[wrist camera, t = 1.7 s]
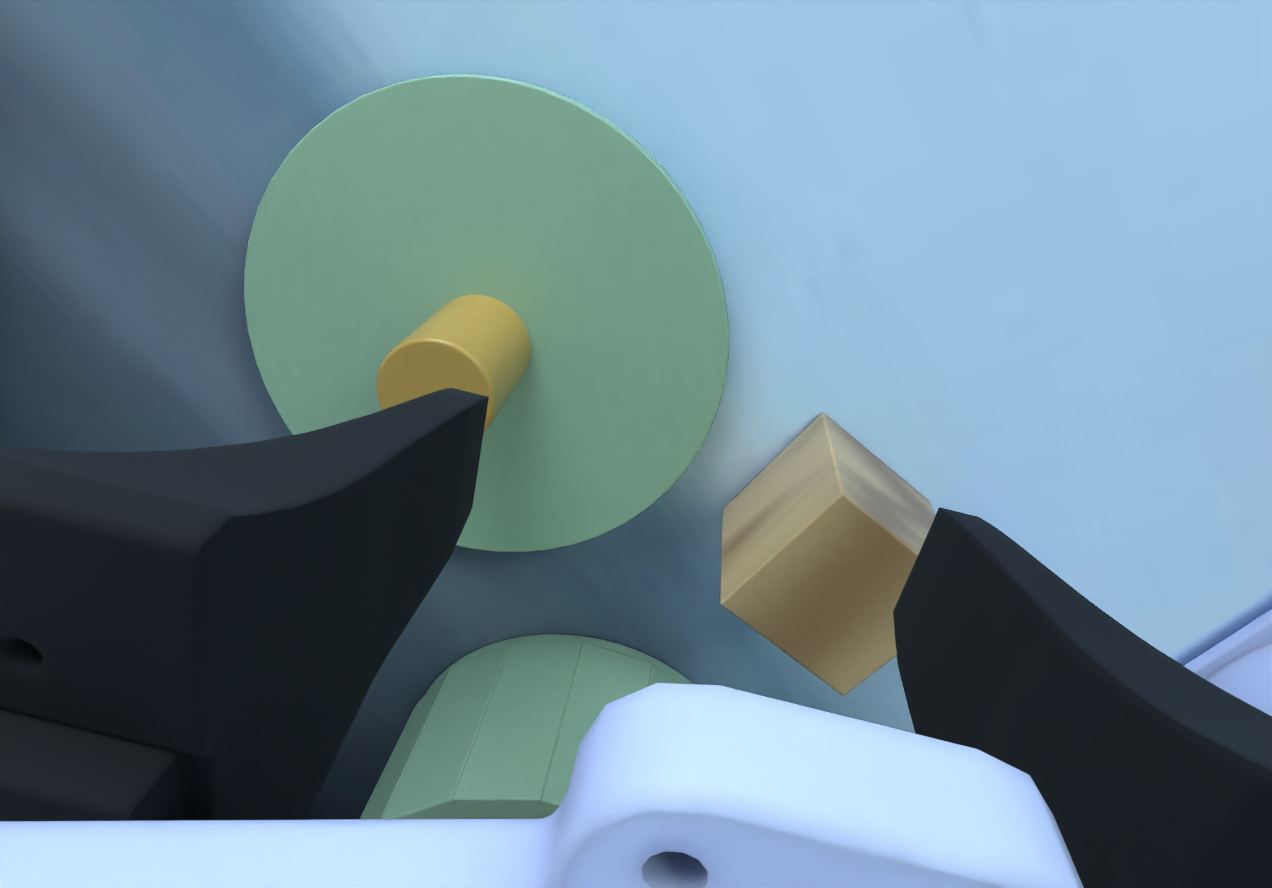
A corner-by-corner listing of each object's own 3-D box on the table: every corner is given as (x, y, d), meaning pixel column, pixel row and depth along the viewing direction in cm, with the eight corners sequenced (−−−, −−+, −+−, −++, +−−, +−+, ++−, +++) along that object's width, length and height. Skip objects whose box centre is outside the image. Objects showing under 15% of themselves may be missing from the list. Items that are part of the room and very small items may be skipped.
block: (929, 500, 22) (972, 598, 18) (824, 589, 24) (843, 697, 20) (822, 410, 22) (842, 492, 18) (721, 508, 23) (718, 604, 19)
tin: (814, 769, 27) (836, 962, 21) (603, 924, 31) (574, 1118, 26) (537, 570, 25) (477, 724, 19) (352, 767, 29) (259, 941, 24)
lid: (832, 305, 20) (858, 370, 16) (544, 604, 25) (505, 714, 21) (421, -53, 18) (325, -86, 14) (190, 353, 23) (67, 420, 19)
